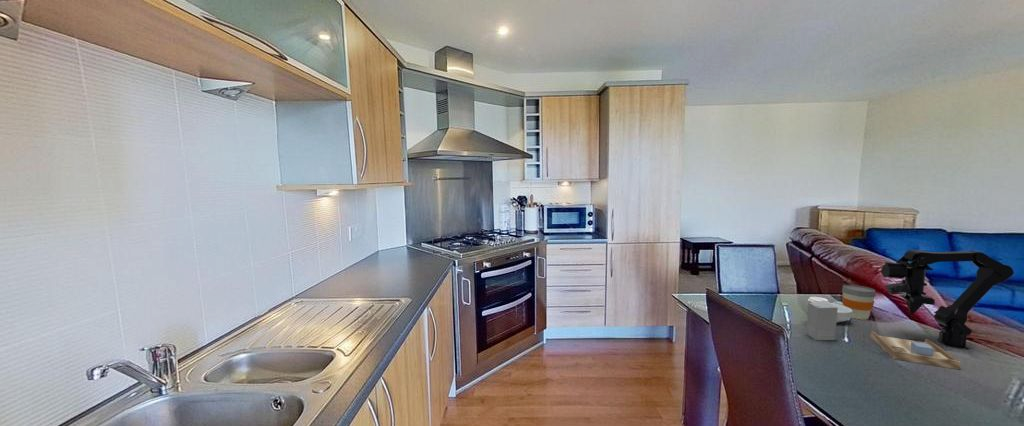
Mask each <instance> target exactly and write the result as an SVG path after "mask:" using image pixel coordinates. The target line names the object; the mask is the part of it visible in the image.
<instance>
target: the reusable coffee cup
mask: <svg viewBox="0 0 1024 426" xmlns="http://www.w3.org/2000/svg"><path fill="white" fill-rule="evenodd" d="M841 292H842V296H841V301H842V306H846V307H848V308H850V309H851V310H852V311H853V312H852V316H851V318H852V319H858V320H869V318H870V315H871V311H872V310H873V307H874V305H875V297H876V290H875V289H874V288H872V287H867V286H863V285H855V284H844V285H842V288H841Z"/></svg>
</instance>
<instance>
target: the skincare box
mask: <svg viewBox="0 0 1024 426" xmlns="http://www.w3.org/2000/svg"><path fill="white" fill-rule="evenodd" d="M830 303H831V302H829V303H827V302H814V303H811V302H809V301H808V303H807V304H808V306H807V320H806V333H805V334H806V335H807V337H810V338H812V339H813V340H815V341H836V333H837V331H836V330H837V323H838V322H837V310H838V308H837V307H836V306H834V305H832V304H830ZM836 322H837V323H836Z"/></svg>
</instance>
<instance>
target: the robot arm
mask: <svg viewBox="0 0 1024 426" xmlns="http://www.w3.org/2000/svg"><path fill="white" fill-rule="evenodd" d="M942 262H943V263H948V262H949V263H950V262H951V263H952V262H956V263H957V262H971V263H972V264H973V265H974V266H976V267H977V268H978V269H977V270H976V278H975V279H974V280H973V282H972V283H971V284H970V285H969V286H968V287H967V288H966V289H965V290H964V291H963V292H962V293H961V294H960V295H959V296H958V298H957V299H956V300H955V301H954V302H953V303H952V304H951V305H949V306H944V305H941V306H939V307H938V309H937V310H936V311H934V312H933V313H934V316H933V319H934V321H935V322H936V323H937V324H938V326H939V327H941V329H940V330H941V331H939V333H938V338H937V341H939V342H940V343H942V344H943V345H944V346H946V347H947V346H948V347H954V348H961V349H967V350H968V349H969V346H967V337H968V336H970V335H971V334H972V332H973V330H972V329H970V327H968V326H967V325H966V323H967V322H968V313H969V312H970V311H971V310H972V309H973V308H974V307H975V305H977V304H978V303H979V301H981V299H982V298H984V296H986V294H987V293H988V292H989V291H990V290H991V289H992V288H993V287H994V286H996V285H999V284H1001V283H1005V282H1006V281H1007V280H1009V279H1010V278H1011V277H1013V275H1014V274H1015V272H1014V270H1013V268H1012V267H1011V266H1010V265H1007V264H1004V263H1001V262H1000V261H998V260H996V259H994V258H992V257H991V256H989V255H987V254H985V253H984V252H982V251H978V250H965V251H964V250H963V251H959V250H958V251H926V250H918V249H908V250H906V252H905V253H904V255H903V256H902V257H900V258H899V259H898V260H897V261H896V262H889V261H885V262H884V264H883V265H882V266H881V268H880V272H881V275H882V276H883V277H884V278H891V279H892V278H893V279H901V281H900V282H899V283H898V282H896V283H889V284H885V288H886V290H887V293H890V295H897V294H900V295H899V296H900V297H901V298H902V299H903V300H904V301H905V304H906V306H907V309H908V313H909V314H911V315H915V314H916V312H917V311H918V310H919V309H920V308H921V307H922V306H923V305H931V306H935V305H936V300H935V299H934V297H931V296H929V295H927V292H925V287H927V285H928V283H926V273H927V272H926V271H933V270H934V269H933V268H932V267H931V266H929V265H933V264H935V263H942Z"/></svg>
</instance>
